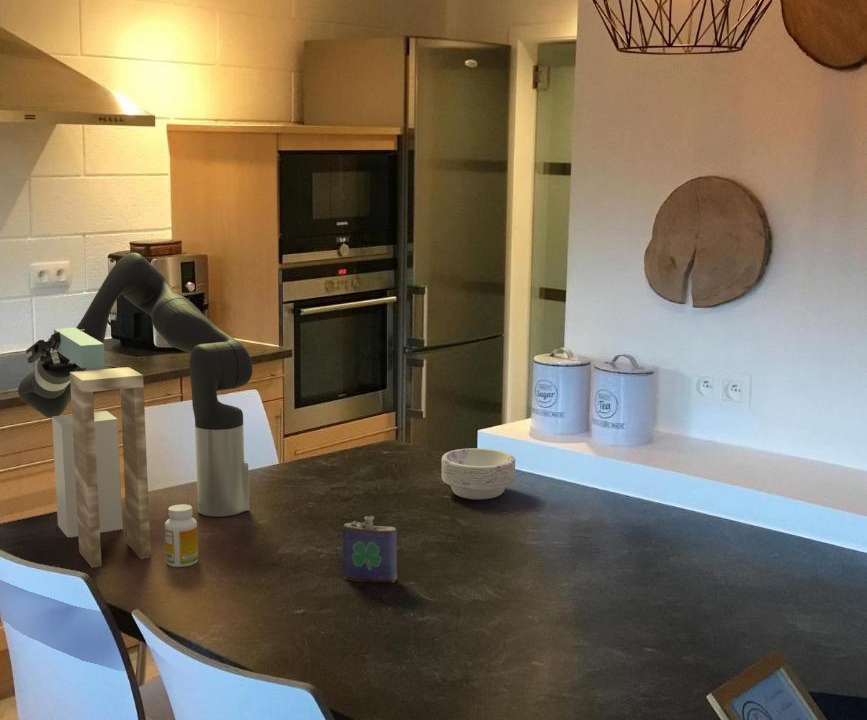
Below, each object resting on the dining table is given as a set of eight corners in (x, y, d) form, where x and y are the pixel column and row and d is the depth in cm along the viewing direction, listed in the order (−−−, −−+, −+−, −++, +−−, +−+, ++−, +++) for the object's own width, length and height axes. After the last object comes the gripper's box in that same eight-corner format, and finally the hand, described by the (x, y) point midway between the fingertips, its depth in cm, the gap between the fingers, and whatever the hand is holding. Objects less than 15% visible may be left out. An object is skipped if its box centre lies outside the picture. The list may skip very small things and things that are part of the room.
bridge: (136, 542, 203) (128, 367, 197) (150, 557, 195) (143, 375, 190) (79, 552, 198) (69, 372, 192) (91, 567, 190) (82, 380, 185)
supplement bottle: (202, 557, 195) (200, 503, 194) (192, 568, 190) (190, 512, 188) (172, 556, 196) (170, 502, 194) (161, 567, 190) (159, 511, 189)
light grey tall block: (111, 517, 217) (106, 410, 214) (122, 529, 210) (117, 418, 207) (58, 525, 212) (51, 416, 209) (67, 537, 205) (61, 424, 202)
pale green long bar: (76, 348, 218) (75, 327, 217) (104, 366, 199) (104, 344, 199) (54, 349, 216) (53, 328, 215) (81, 368, 197) (80, 345, 197)
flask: (398, 579, 185) (398, 516, 183) (393, 585, 182) (392, 521, 181) (345, 573, 188) (344, 511, 186) (339, 579, 185) (338, 516, 183)
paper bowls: (517, 504, 226) (517, 466, 225) (441, 504, 227) (441, 465, 225) (512, 483, 241) (513, 447, 240) (441, 483, 242) (441, 447, 240)
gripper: (16, 352, 223) (28, 319, 209) (89, 347, 230) (106, 314, 216) (21, 388, 221) (34, 356, 207) (95, 381, 228) (112, 350, 214)
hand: (71, 335), depth 212 cm, fingers closed on pale green long bar, 4 cm apart
